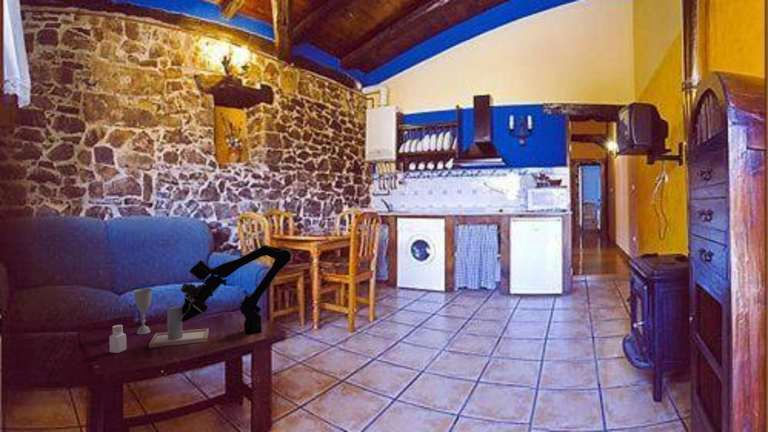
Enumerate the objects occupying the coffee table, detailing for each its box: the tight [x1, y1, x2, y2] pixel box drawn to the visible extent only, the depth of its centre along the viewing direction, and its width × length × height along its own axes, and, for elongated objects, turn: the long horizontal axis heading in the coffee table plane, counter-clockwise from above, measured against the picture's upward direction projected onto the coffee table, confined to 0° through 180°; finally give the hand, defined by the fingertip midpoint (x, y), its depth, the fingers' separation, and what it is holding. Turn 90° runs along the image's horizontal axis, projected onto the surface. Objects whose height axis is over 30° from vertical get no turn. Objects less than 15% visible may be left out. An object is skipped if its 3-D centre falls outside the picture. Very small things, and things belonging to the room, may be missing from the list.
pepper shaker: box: [108, 324, 127, 354], centre depth 151 cm, size 4×4×10 cm
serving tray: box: [148, 327, 210, 348], centre depth 164 cm, size 20×13×2 cm, turn 110°
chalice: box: [132, 287, 153, 335], centre depth 172 cm, size 7×7×18 cm
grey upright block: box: [166, 305, 183, 340], centre depth 163 cm, size 5×5×12 cm
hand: (180, 318), depth 164 cm, fingers open, 9 cm apart
